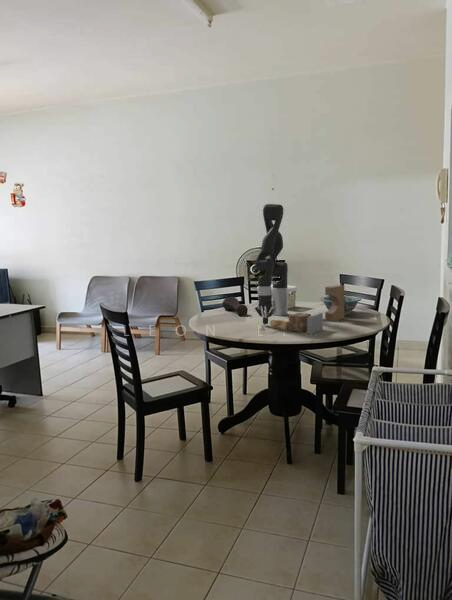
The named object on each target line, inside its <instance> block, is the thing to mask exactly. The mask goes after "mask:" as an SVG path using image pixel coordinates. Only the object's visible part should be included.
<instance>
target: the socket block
mask: <svg viewBox="0 0 452 600" xmlns="http://www.w3.org/2000/svg"><path fill="white" fill-rule="evenodd" d="M309 316H312V314H311V313H306V312H305V313H304V312H296V313H292V314H290V315H288V321H289V328H288V331H293V332H300V333H301V332H302V333H304V332H305V331H307V317H309Z"/></svg>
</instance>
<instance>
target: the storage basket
mask: <svg viewBox="0 0 452 600" xmlns="http://www.w3.org/2000/svg"><path fill="white" fill-rule="evenodd" d="M258 288H259V285H258V286H257V287H256V291H257V292H258ZM271 289H272V299H273V283H271ZM297 290H298V288H297V286H294V285H287V292H288V309H291V308H294V307H296V303H297V302H296V300H297V299H296V298H297Z"/></svg>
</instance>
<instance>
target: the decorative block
mask: <svg viewBox="0 0 452 600" xmlns="http://www.w3.org/2000/svg"><path fill="white" fill-rule="evenodd" d="M324 288H325V289H324V290H325V292H324V295H325V296H330V298H331V299H332V306H331V308H330V309H329V310H327V311H325V318H324V320H325V321H328V322H337V321H341V320H345V315H344V296H345V285H341V284H336V285H335V284H334V285H329V286H325V287H324Z"/></svg>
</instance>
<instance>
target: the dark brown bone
mask: <svg viewBox="0 0 452 600" xmlns="http://www.w3.org/2000/svg"><path fill="white" fill-rule="evenodd" d="M222 307H223V309H224V310H226V311H231V310H234V312H236V313H237V315H238V316H242V317H244V316H246V315H247V314H248V311H249V309H248V307H247V306H246V305H245V304H241V303H240V302H239V299H238V298H237V297H235V296H229V297H225V298H224V299H223V301H222Z"/></svg>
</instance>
